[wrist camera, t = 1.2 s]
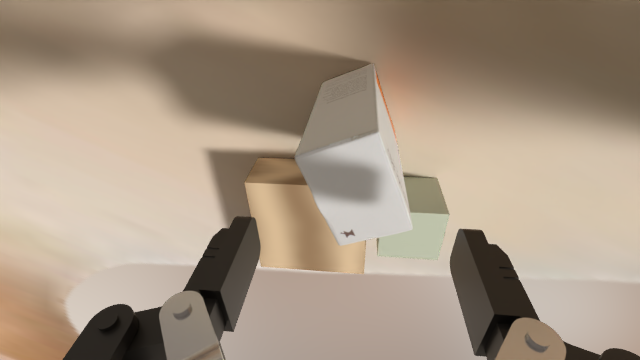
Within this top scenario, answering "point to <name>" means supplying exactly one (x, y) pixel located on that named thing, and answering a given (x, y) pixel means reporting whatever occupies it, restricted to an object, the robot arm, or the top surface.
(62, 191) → the top surface
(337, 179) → the skincare box
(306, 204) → the block
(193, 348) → the robot arm
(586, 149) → the top surface
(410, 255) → the sage cube
